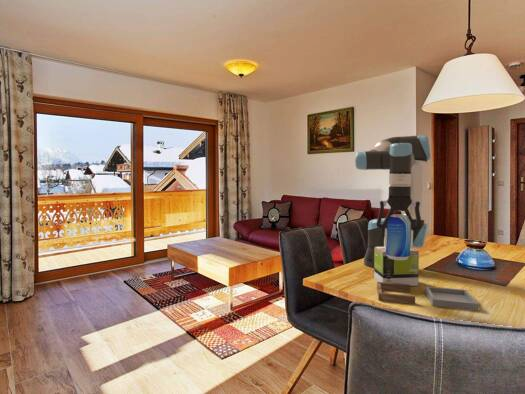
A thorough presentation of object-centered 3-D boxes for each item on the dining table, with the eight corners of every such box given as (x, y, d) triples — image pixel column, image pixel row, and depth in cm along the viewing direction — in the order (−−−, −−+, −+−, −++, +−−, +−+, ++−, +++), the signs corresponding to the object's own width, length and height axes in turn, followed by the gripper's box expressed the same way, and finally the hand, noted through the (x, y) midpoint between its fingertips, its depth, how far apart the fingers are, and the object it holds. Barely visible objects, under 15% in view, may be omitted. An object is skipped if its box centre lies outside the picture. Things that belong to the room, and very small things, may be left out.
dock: (376, 288, 134) (377, 281, 134) (409, 291, 130) (410, 284, 130) (378, 300, 121) (378, 293, 121) (415, 304, 118) (415, 297, 117)
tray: (425, 292, 129) (425, 286, 129) (466, 296, 125) (466, 289, 125) (432, 306, 116) (432, 299, 116) (478, 310, 112) (478, 303, 112)
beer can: (381, 257, 126) (382, 215, 124) (393, 253, 131) (394, 213, 129) (401, 262, 119) (403, 217, 118) (414, 258, 124) (415, 215, 122)
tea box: (407, 278, 146) (408, 245, 145) (418, 286, 136) (420, 250, 135) (373, 279, 145) (374, 245, 144) (382, 287, 135) (383, 251, 134)
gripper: (370, 185, 122) (368, 247, 124) (433, 186, 116) (431, 250, 118) (369, 185, 129) (368, 242, 131) (429, 185, 123) (427, 246, 125)
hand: (398, 246), depth 124 cm, fingers closed on beer can, 8 cm apart
